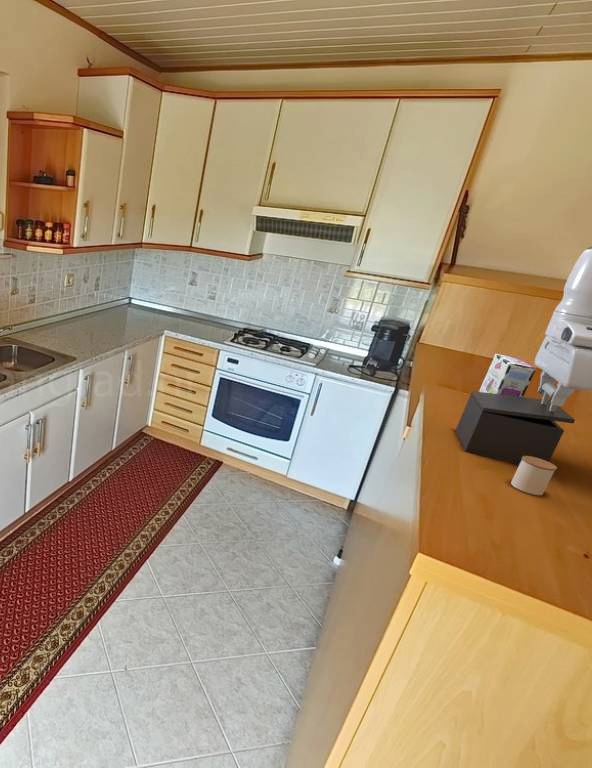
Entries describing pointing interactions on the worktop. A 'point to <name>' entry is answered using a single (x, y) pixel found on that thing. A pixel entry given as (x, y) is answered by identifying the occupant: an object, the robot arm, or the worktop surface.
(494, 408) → the grey lid with handle
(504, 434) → the grey hinged lid box
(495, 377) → the candy bar box
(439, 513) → the worktop surface
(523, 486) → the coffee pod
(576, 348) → the robot arm
